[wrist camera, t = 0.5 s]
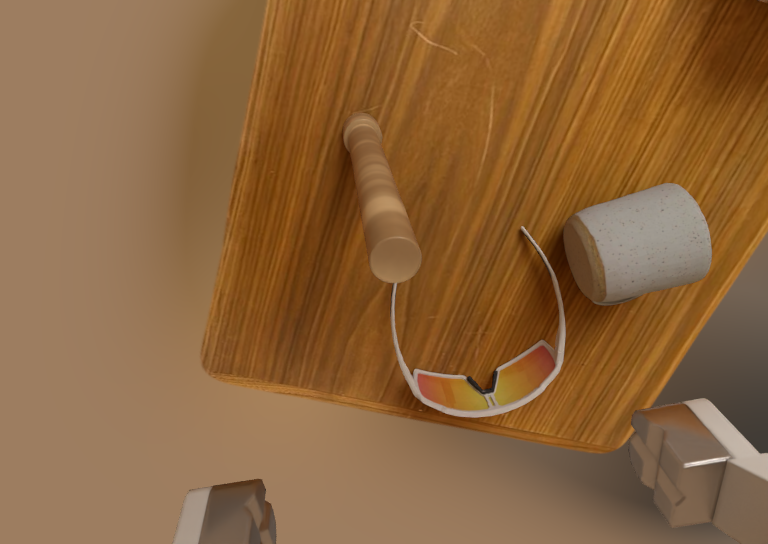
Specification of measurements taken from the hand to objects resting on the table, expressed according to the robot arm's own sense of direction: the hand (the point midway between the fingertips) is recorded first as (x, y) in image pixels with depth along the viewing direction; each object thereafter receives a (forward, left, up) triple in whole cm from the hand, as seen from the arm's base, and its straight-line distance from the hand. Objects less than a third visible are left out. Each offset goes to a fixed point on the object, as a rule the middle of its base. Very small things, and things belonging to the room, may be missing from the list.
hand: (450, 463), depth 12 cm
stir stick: (0, 0, -30) cm, 30 cm away
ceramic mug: (+12, +19, -30) cm, 37 cm away
